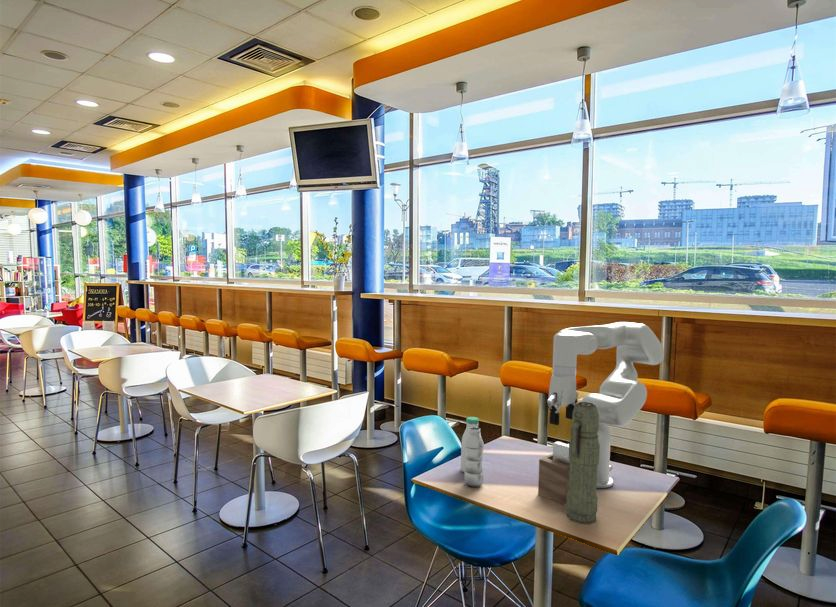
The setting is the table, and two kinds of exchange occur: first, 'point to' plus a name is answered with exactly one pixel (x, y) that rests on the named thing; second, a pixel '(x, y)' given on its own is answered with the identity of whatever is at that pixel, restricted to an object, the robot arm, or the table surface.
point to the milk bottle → (470, 423)
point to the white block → (561, 452)
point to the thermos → (583, 464)
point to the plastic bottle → (474, 458)
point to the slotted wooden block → (553, 479)
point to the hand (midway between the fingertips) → (562, 421)
